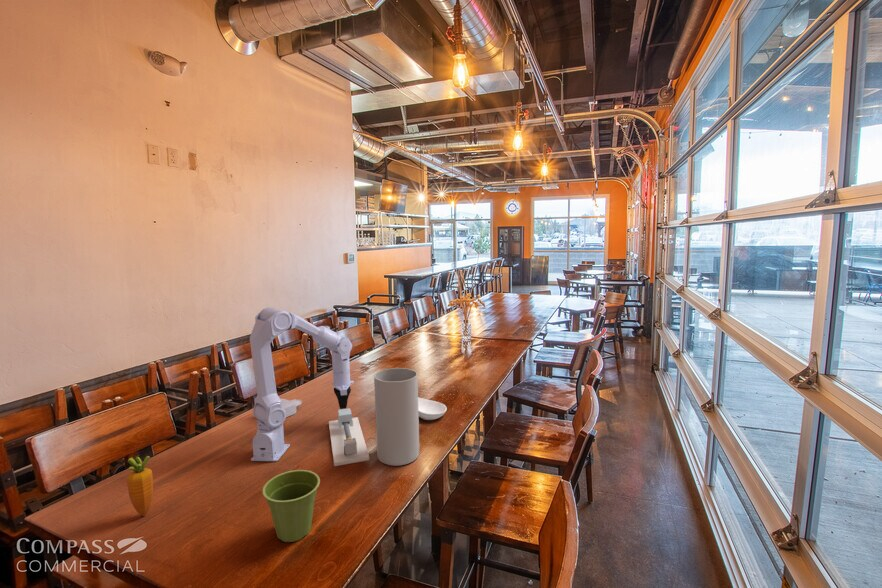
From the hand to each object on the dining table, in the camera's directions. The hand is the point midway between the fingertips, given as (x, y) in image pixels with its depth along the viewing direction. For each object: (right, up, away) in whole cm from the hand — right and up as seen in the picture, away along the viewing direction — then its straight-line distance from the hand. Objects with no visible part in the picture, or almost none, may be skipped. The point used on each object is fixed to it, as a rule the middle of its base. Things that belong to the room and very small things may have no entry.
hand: (343, 408), depth 145 cm
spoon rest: (+25, -5, +8) cm, 26 cm away
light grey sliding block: (+2, -3, -7) cm, 8 cm away
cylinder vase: (+21, -9, -21) cm, 31 cm away
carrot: (-36, -13, -47) cm, 60 cm away
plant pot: (+2, -13, -53) cm, 54 cm away
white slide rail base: (+4, -7, -11) cm, 14 cm away
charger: (-24, -5, +11) cm, 27 cm away
